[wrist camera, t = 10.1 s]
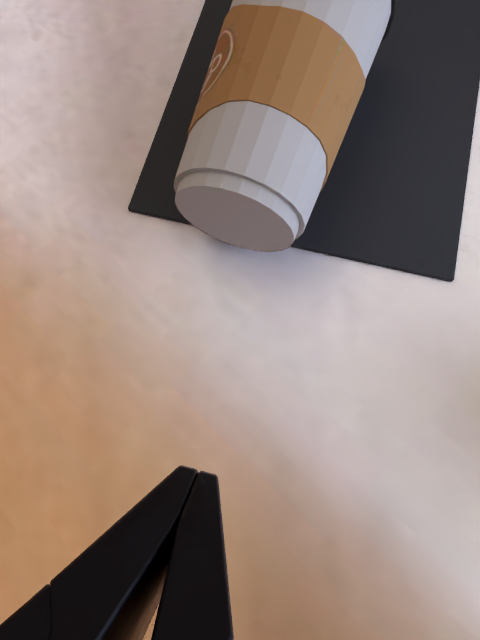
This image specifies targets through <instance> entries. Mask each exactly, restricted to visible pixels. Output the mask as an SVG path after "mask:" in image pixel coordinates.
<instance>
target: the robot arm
mask: <svg viewBox="0 0 480 640" xmlns="http://www.w3.org/2000/svg"><path fill="white" fill-rule="evenodd" d="M159 601H160V603H159ZM158 604H159V607H158V612H157V616H156V621H155V625H154V629H153V634H152V638H151V640H234V636H233V626H232V616H231V605H230V595H229V585H228V575H227V564H226V554H225V544H224V534H223V523H222V513H221V503H220V493H219V483H218V477H217V475H215V474H212V473H208V472H204V471H200V472H199V473H198V471H197V470H196V469H194V468H190V467H186V466H179V467H178V468H176V469H175V470H174V471H173V472H172V473H171V474H170V475H168V476H167V477H166V478H165V479H164V480H163V481H162V482H161V483H160V484H158V485H157V486H156V487H155V488H154V489H153V490H152V491H151V492H150V493H148V494H147V495H146V496H145V497H144V498H143V499H142V500H141V501H139V502H138V503H137V504H136V505H135V506H134V507H133V508H132V509H131V510H129V511H128V512H127V513H126V514H125V515H124V516H123V517H122V518H121V519H119V520H118V521H117V522H116V523H115V524H114V525H113V526H112V527H110V528H109V529H108V530H107V531H106V532H105V533H104V534H103V535H102V536H100V537H99V538H98V539H97V540H96V541H95V542H94V543H93V544H91V545H90V546H89V547H88V548H87V549H86V550H85V551H84V552H83V553H81V554H80V555H79V556H78V557H77V558H76V559H75V560H74V561H73V562H71V563H70V564H69V565H68V566H67V567H66V568H65V569H64V570H62V571H61V572H60V573H59V574H58V575H57V576H56V577H55V578H54V579H52V580H51V582H50V585H49V584H47V585H45V586H44V587H43V588H42V589H41V590H40V591H39V592H38V593H37V594H35V595H34V596H33V597H32V598H31V599H30V600H29V601H28V602H26V603H25V604H24V605H23V606H22V607H21V608H19V609H18V610H17V611H16V612H15V613H14V614H12V615H11V616H10V617H9V618H8V619H7V620H5V621H4V622H3V623H2V624H1V625H0V640H143V638H144V635H145V633H146V631H147V629H148V626H149V624H150V622H151V619H152V617H153V615H154V613H155V610H156V608H157V606H158Z"/></svg>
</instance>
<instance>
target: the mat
mask: <svg viewBox="0 0 480 640" xmlns="http://www.w3.org/2000/svg"><path fill="white" fill-rule="evenodd" d="M232 1H233V0H206V1H205V4H204V6H203V9H202V12H201V14H200V17H199V20H198V22H197V25H196V28H195V31H194V33H193V36H192V39H191V41H190V44H189V47H188V49H187V52H186V55H185V57H184V60H183V63H182V65H181V68H180V71H179V73H178V76H177V79H176V81H175V84H174V87H173V89H172V92H171V95H170V97H169V100H168V103H167V105H166V108H165V111H164V113H163V116H162V119H161V121H160V124H159V127H158V129H157V132H156V135H155V137H154V140H153V143H152V145H151V148H150V151H149V153H148V156H147V159H146V161H145V164H144V167H143V169H142V172H141V175H140V177H139V180H138V183H137V186H136V188H135V191H134V194H133V196H132V199H131V202H130V204H129V207H128V209H129V211H132V212H137V213H141V214H146V215H150V216H155V217H159V218H164V219H169V220H173V221H178V222H182V223H187V224H191V223H190V222H189V221H188V220H187V219H186V218H184V216H183V215H182V214H181V213H180V211H179V210H178V209H177V206H176V204H175V196H176V193H175V190H174V180H175V177H176V174H177V171H178V167H179V164H180V161H181V158H182V155H183V152H184V149H185V146H186V143H187V137H188V130H189V127H190V124H191V121H192V118H193V115H194V112H195V109H196V106H197V103H198V99H199V96H200V93H201V90H202V87H203V84H204V81H205V78H206V75H207V72H208V69H209V66H210V62H211V59H212V56H213V53H214V50H215V47H216V44H217V41H218V38H219V35H220V32H221V29H222V26H223V22H224V19H225V17H226V15H227V14H228V12H229V10H230V7H231V4H232ZM479 81H480V0H397V1H396V4H395V15H394V18H393V21H392V24H391V27H390V30H389V33H388V35H387V36H386V38H385V39H384V41H383V42H382V44H381V45H380V47H379V48H378V50H377V53H376V55H375V57H374V60H373V62H372V65H371V67H370V70H369V72H368V75H367V77H366V81H365V86H364V89H363V92H362V94H361V97H360V99H359V102H358V104H357V106H356V109H355V111H354V114H353V116H352V119H351V121H350V124H349V126H348V129H347V131H346V133H345V136H344V138H343V141H342V143H341V146H340V148H339V151H338V153H337V156H336V158H335V160H334V163H333V165H332V168H331V170H330V173H329V175H328V178H327V180H326V183H325V185H324V187H323V189H322V190H321V191H320V193H319V195H318V197H317V200H316V202H315V205H314V207H313V210H312V212H311V215H310V217H309V220H308V222H307V224H306V227H305V229H304V232H303V233H302V234H301V235H300V236H299V237H298V238H297V239H295V240H294V242H293V244H292V245H291V247H296V248H300V249H305V250H310V251H314V252H319V253H323V254H328V255H332V256H337V257H341V258H346V259H351V260H355V261H360V262H364V263H369V264H373V265H378V266H382V267H387V268H391V269H396V270H401V271H405V272H410V273H414V274H419V275H423V276H428V277H432V278H437V279H442V280H446V281H453V280H454V273H455V265H456V258H457V250H458V242H459V235H460V227H461V219H462V211H463V204H464V196H465V188H466V181H467V173H468V165H469V158H470V150H471V142H472V134H473V127H474V119H475V111H476V104H477V96H478V88H479ZM191 225H193V224H191Z"/></svg>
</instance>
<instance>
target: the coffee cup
mask: <svg viewBox="0 0 480 640" xmlns="http://www.w3.org/2000/svg"><path fill="white" fill-rule="evenodd" d="M396 1H397V0H233V1H232V4H231V7H230V10H229V12H228V14H227V15H226V17H225V19H224V22H223V26H222V29H221V32H220V35H219V38H218V41H217V44H216V47H215V50H214V53H213V56H212V59H211V62H210V66H209V69H208V72H207V75H206V78H205V81H204V84H203V87H202V90H201V93H200V96H199V99H198V103H197V106H196V109H195V112H194V115H193V118H192V121H191V124H190V127H189V130H188V137H187V143H186V146H185V149H184V152H183V155H182V158H181V161H180V164H179V167H178V171H177V174H176V177H175V180H174V190H175V193H176V196H175V204H176V206H177V209H178V210H179V211H180V213H181V214H182V215H183V216H184V218H186V219H187V220H188V221H189V222H190V223H191V224H193V225H194V226H195V227H197V228H198V229H200V230H201V231H203V232H204V233H206V234H208V235H210V236H212V237H214V238H216V239H218V240H221V241H223V242H226V243H228V244H231V245H234V246H237V247H241V248H244V249H249V250H254V251H264V252H273V251H281V250H284V249H286V248H288V247H289V246H291V245H292V244H293V242H294V240H295V239H297V238H298V237H299V236H300V235H301V234H302V233H303V232H304V229H305V227H306V224H307V222H308V220H309V217H310V215H311V212H312V210H313V207H314V205H315V202H316V200H317V197H318V195H319V193H320V191H321V190H322V189H323V187H324V185H325V183H326V180H327V178H328V175H329V173H330V170H331V168H332V165H333V163H334V160H335V158H336V156H337V153H338V151H339V148H340V146H341V143H342V141H343V138H344V136H345V133H346V131H347V129H348V126H349V124H350V121H351V119H352V116H353V114H354V111H355V109H356V106H357V104H358V102H359V99H360V97H361V94H362V92H363V89H364V86H365V81H366V77H367V75H368V72H369V70H370V67H371V65H372V62H373V60H374V57H375V55H376V53H377V50H378V48H379V47H380V45H381V44H382V42H383V41H384V39H385V38H386V36H387V35H388V33H389V30H390V27H391V24H392V21H393V18H394V15H395V4H396Z"/></svg>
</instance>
